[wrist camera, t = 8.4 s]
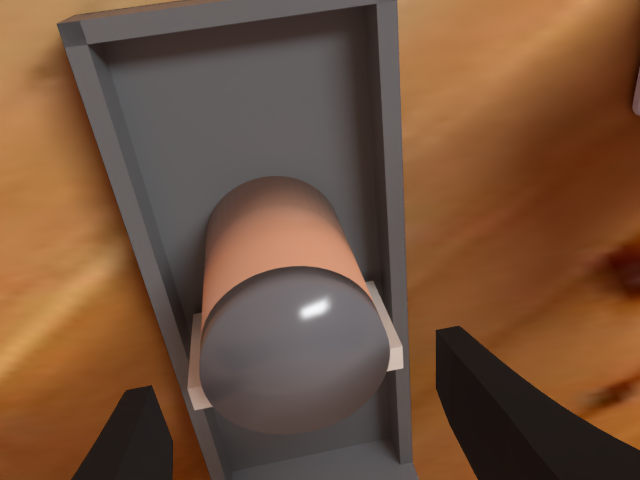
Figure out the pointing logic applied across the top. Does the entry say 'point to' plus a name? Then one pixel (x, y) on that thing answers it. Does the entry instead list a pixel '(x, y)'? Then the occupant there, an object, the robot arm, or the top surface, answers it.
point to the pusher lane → (250, 163)
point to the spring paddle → (193, 377)
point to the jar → (285, 312)
